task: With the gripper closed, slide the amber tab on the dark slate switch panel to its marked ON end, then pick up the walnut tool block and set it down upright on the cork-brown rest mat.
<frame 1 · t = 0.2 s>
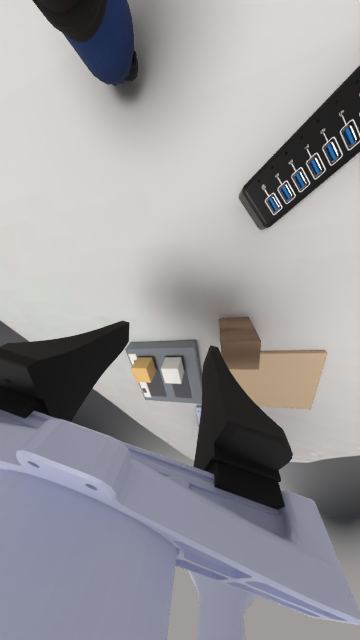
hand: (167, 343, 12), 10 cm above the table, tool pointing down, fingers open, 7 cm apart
multiport hub: (322, 145, 13), on the table
rest mat: (266, 379, 25), on the table
tool block: (233, 330, 22), on the table
flashlight: (122, 75, 13), on the table
switch tab a: (144, 369, 24), point 4 cm above the table, slide at 0.0 cm
switch tab b: (173, 370, 23), point 4 cm above the table, slide at 0.0 cm
switch panel: (168, 369, 28), on the table
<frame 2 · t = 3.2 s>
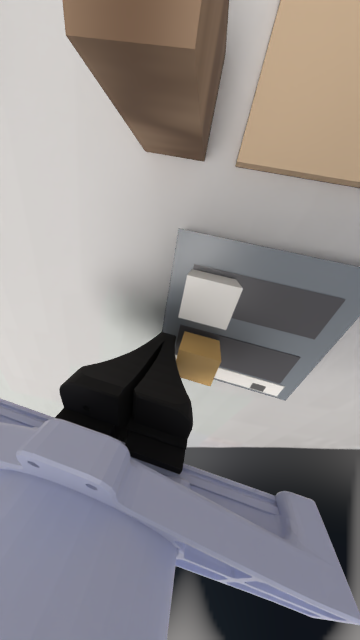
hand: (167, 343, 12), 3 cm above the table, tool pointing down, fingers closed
tool block: (180, 109, 9), on the table
switch tab a: (196, 357, 12), point 4 cm above the table, slide at 0.5 cm, touching gripper
switch tab b: (208, 297, 9), point 4 cm above the table, slide at 0.0 cm
switch panel: (238, 320, 13), on the table
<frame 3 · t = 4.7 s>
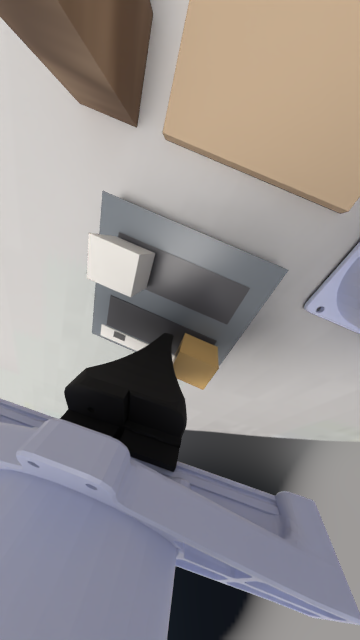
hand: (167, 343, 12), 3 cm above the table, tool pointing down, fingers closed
tool block: (112, 64, 8), on the table
switch tab a: (193, 360, 12), point 4 cm above the table, slide at 7.2 cm, touching gripper
switch tab b: (122, 265, 10), point 4 cm above the table, slide at 0.0 cm
switch panel: (172, 301, 14), on the table
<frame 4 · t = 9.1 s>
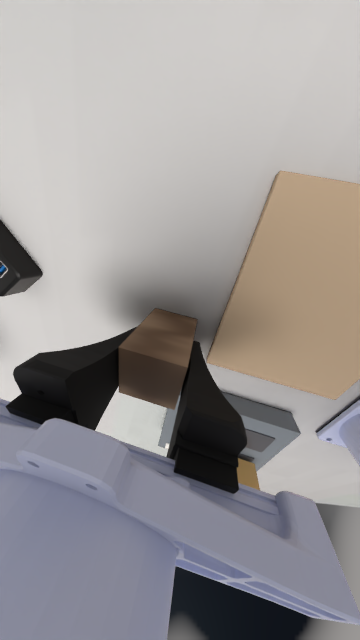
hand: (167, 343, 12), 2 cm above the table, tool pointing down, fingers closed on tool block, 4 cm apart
rest mat: (310, 312, 11), on the table
tool block: (172, 331, 14), on the table, touching gripper
switch tab a: (239, 477, 17), point 4 cm above the table, slide at 7.1 cm
switch panel: (215, 423, 19), on the table
when the fingers open (4 cm above the table, at t = 13.7 s): tool block stays where it is, resting on rest mat.
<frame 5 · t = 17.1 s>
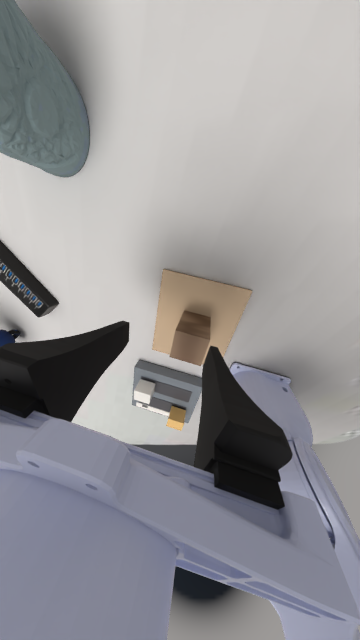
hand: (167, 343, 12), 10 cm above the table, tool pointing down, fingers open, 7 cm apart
multiport hub: (25, 274, 26), on the table
rest mat: (194, 323, 23), on the table
drinking glass: (57, 126, 16), on the table
tool block: (194, 325, 22), point 1 cm above the table, touching rest mat
flashlight: (19, 333, 33), on the table
switch tab a: (176, 418, 29), point 4 cm above the table, slide at 7.1 cm
switch tab b: (144, 391, 27), point 4 cm above the table, slide at 0.0 cm
switch panel: (166, 388, 31), on the table
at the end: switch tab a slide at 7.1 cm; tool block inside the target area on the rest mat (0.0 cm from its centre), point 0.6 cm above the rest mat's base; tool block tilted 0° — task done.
